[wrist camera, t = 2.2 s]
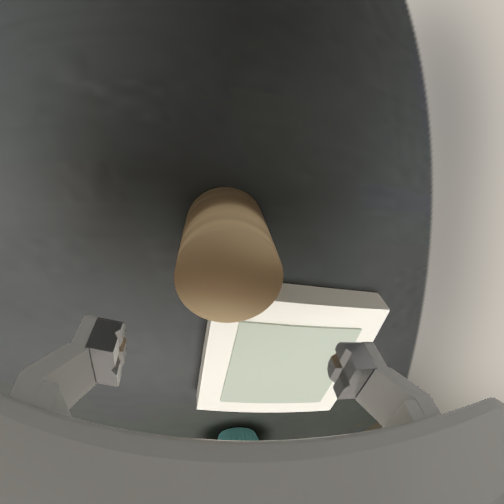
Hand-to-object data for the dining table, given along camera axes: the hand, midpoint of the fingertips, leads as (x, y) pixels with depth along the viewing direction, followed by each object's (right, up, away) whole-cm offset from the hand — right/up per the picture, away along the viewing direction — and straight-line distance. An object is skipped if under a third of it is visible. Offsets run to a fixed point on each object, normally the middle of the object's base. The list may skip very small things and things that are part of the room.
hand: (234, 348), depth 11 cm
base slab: (+3, -5, +16) cm, 17 cm away
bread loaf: (-1, +5, +10) cm, 11 cm away
